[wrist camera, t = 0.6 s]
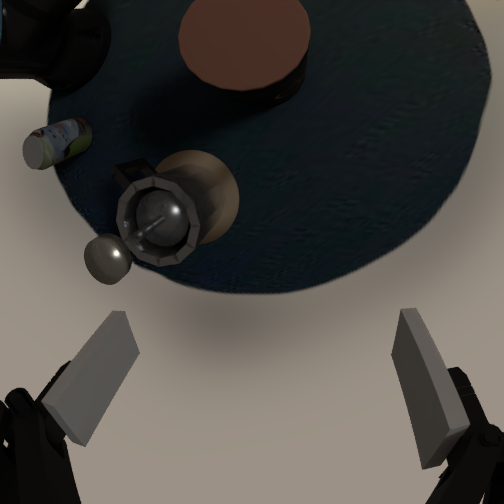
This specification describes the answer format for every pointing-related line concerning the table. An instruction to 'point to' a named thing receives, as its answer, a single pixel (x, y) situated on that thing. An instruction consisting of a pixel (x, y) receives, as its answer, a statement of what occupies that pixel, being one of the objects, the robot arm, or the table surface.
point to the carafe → (185, 189)
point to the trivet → (222, 174)
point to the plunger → (138, 236)
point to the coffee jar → (247, 47)
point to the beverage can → (56, 143)
